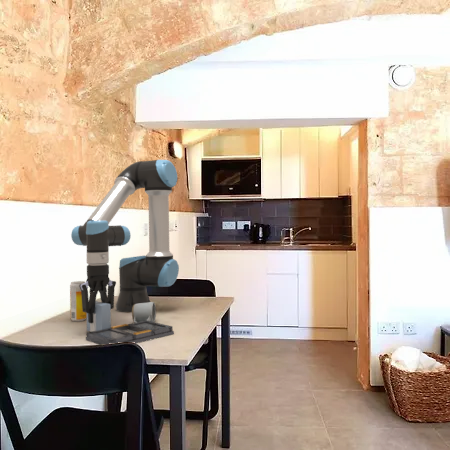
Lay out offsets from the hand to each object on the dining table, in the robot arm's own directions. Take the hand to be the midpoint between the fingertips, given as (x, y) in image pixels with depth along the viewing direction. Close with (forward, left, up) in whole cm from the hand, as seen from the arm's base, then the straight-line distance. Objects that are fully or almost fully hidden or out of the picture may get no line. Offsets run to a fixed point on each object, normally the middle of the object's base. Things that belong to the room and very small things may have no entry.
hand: (98, 330), depth 162 cm
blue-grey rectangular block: (0, 0, 0) cm, 0 cm away
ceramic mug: (+1, +19, -1) cm, 19 cm away
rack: (+15, +3, 0) cm, 15 cm away
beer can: (-23, +5, 0) cm, 24 cm away
